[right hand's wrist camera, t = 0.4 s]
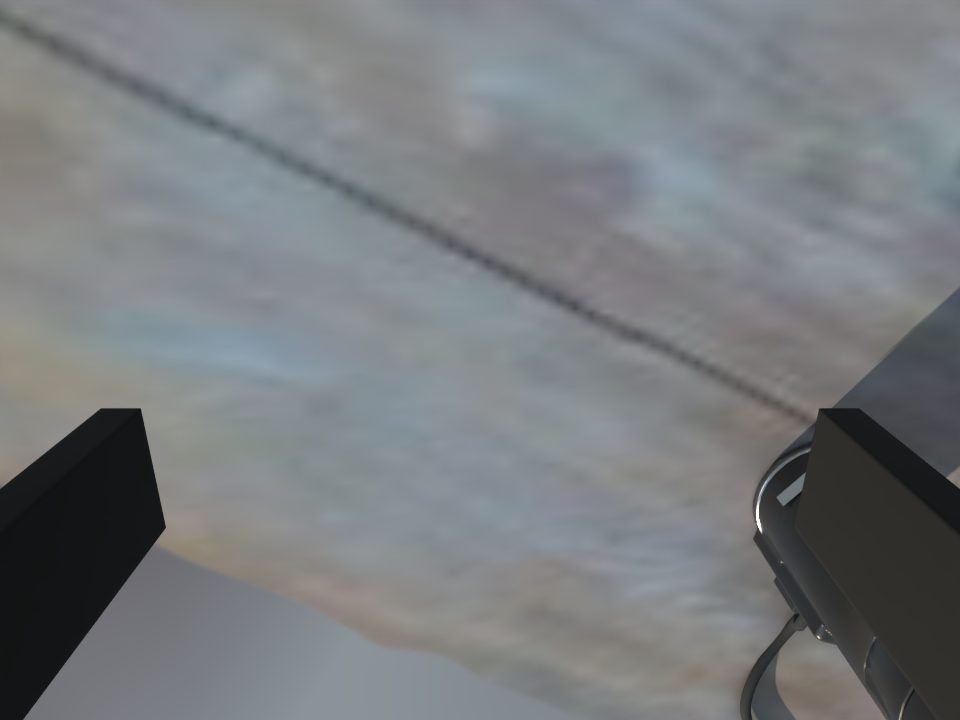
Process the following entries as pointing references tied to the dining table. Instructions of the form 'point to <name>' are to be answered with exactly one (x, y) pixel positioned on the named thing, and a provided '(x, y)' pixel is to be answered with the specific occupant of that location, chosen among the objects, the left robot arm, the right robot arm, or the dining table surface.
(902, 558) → the right robot arm
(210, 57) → the dining table surface
